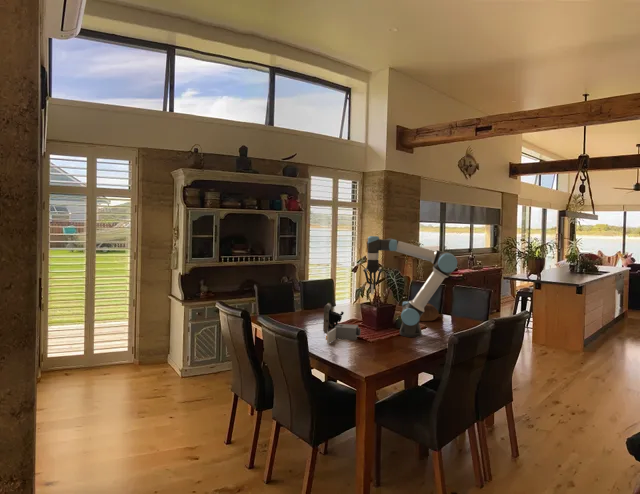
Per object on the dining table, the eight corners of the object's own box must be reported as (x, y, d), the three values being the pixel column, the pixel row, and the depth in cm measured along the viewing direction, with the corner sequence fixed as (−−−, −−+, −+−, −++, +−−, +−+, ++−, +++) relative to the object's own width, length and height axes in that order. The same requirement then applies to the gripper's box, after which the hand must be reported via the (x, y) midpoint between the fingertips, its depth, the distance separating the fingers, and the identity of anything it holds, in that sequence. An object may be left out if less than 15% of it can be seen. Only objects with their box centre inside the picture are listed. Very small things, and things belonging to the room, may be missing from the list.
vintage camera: (344, 334, 296) (345, 306, 294) (322, 332, 299) (324, 304, 298) (346, 331, 305) (347, 304, 304) (325, 329, 308) (326, 302, 307)
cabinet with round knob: (360, 337, 289) (361, 324, 288) (358, 340, 280) (358, 327, 279) (337, 335, 293) (337, 322, 292) (334, 338, 284) (335, 325, 284)
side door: (328, 343, 271) (328, 332, 270) (325, 343, 272) (325, 332, 271) (336, 338, 284) (336, 327, 283) (333, 338, 284) (333, 327, 284)
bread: (441, 322, 334) (442, 305, 333) (407, 321, 334) (407, 305, 333) (433, 314, 359) (434, 299, 359) (402, 314, 360) (402, 298, 359)
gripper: (383, 258, 288) (382, 293, 289) (364, 258, 291) (363, 292, 293) (382, 260, 280) (381, 295, 282) (362, 259, 284) (361, 294, 285)
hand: (372, 294), depth 287 cm, fingers closed
